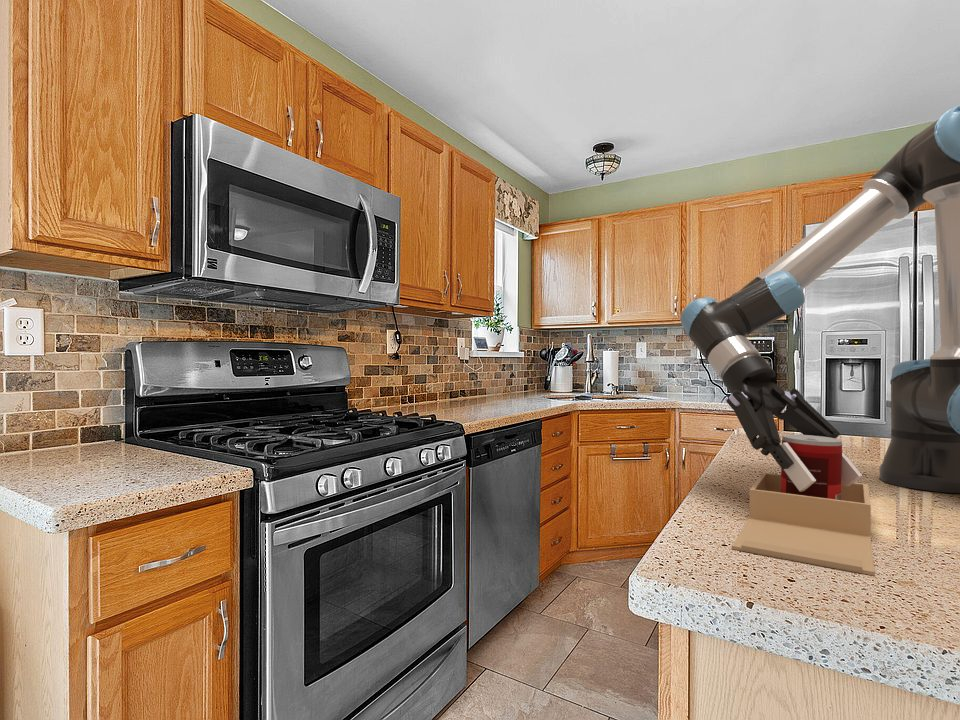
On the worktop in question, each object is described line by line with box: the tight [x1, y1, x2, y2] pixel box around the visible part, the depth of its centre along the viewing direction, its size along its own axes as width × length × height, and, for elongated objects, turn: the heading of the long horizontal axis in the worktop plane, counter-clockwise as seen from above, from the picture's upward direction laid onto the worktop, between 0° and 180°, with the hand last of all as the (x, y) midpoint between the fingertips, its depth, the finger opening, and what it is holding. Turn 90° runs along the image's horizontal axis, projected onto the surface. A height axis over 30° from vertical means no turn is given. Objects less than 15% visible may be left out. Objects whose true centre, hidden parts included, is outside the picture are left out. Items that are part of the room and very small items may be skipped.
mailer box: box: [731, 472, 876, 577], centre depth 74 cm, size 28×14×4 cm, turn 146°
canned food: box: [780, 433, 843, 500], centre depth 80 cm, size 8×8×11 cm
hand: (831, 483), depth 77 cm, fingers open, 9 cm apart
